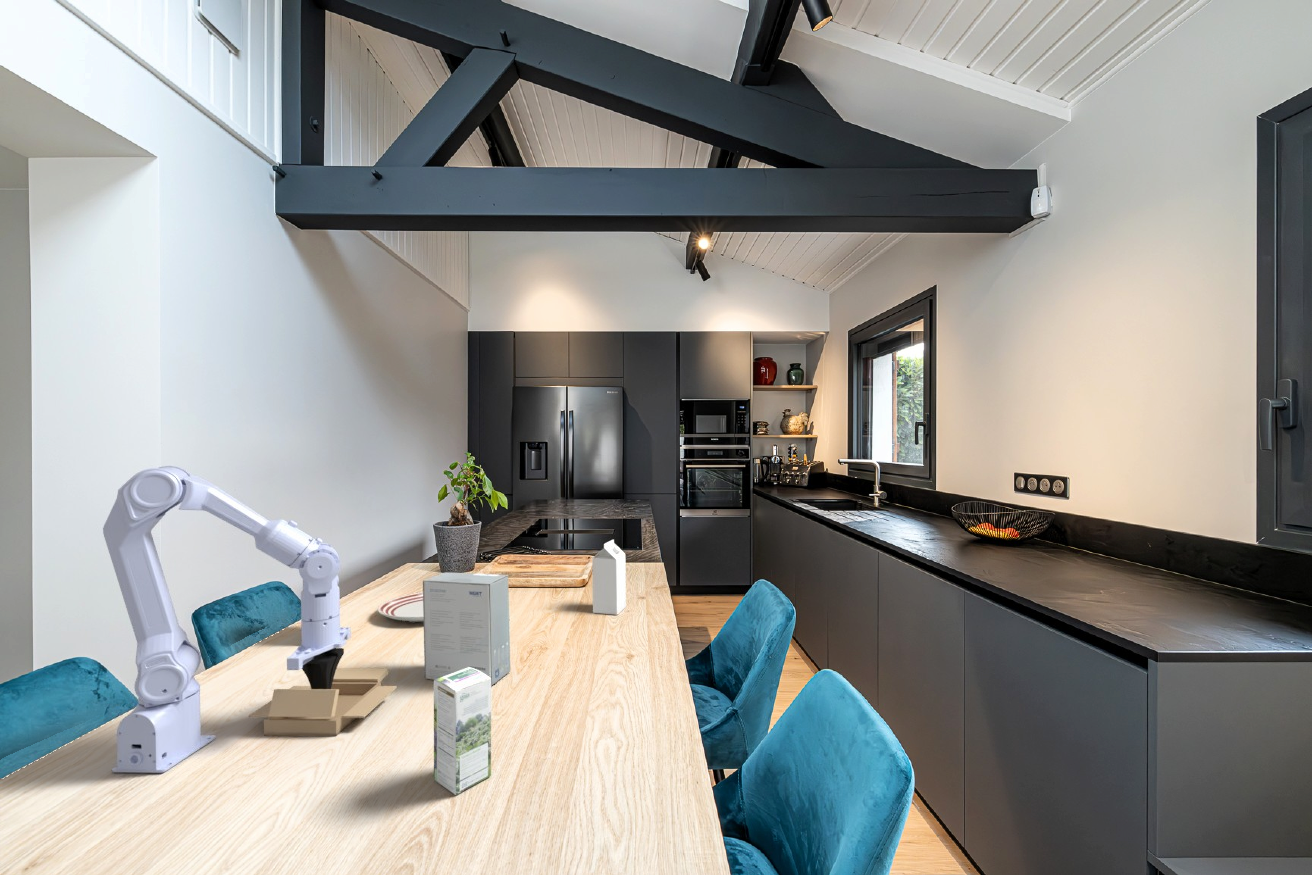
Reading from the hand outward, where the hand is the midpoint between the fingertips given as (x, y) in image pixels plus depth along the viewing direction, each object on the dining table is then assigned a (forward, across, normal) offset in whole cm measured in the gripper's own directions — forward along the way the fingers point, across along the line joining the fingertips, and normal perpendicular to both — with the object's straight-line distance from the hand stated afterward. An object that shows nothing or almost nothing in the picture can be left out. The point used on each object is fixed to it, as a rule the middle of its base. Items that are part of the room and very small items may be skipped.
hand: (321, 694), depth 97 cm
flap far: (+2, +8, 0) cm, 8 cm away
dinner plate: (+4, +58, +6) cm, 59 cm away
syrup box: (+4, -17, -31) cm, 36 cm away
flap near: (+2, -6, 0) cm, 6 cm away
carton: (+4, +1, 0) cm, 4 cm away
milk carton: (+4, +59, -43) cm, 73 cm away
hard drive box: (+4, +17, -19) cm, 26 cm away
